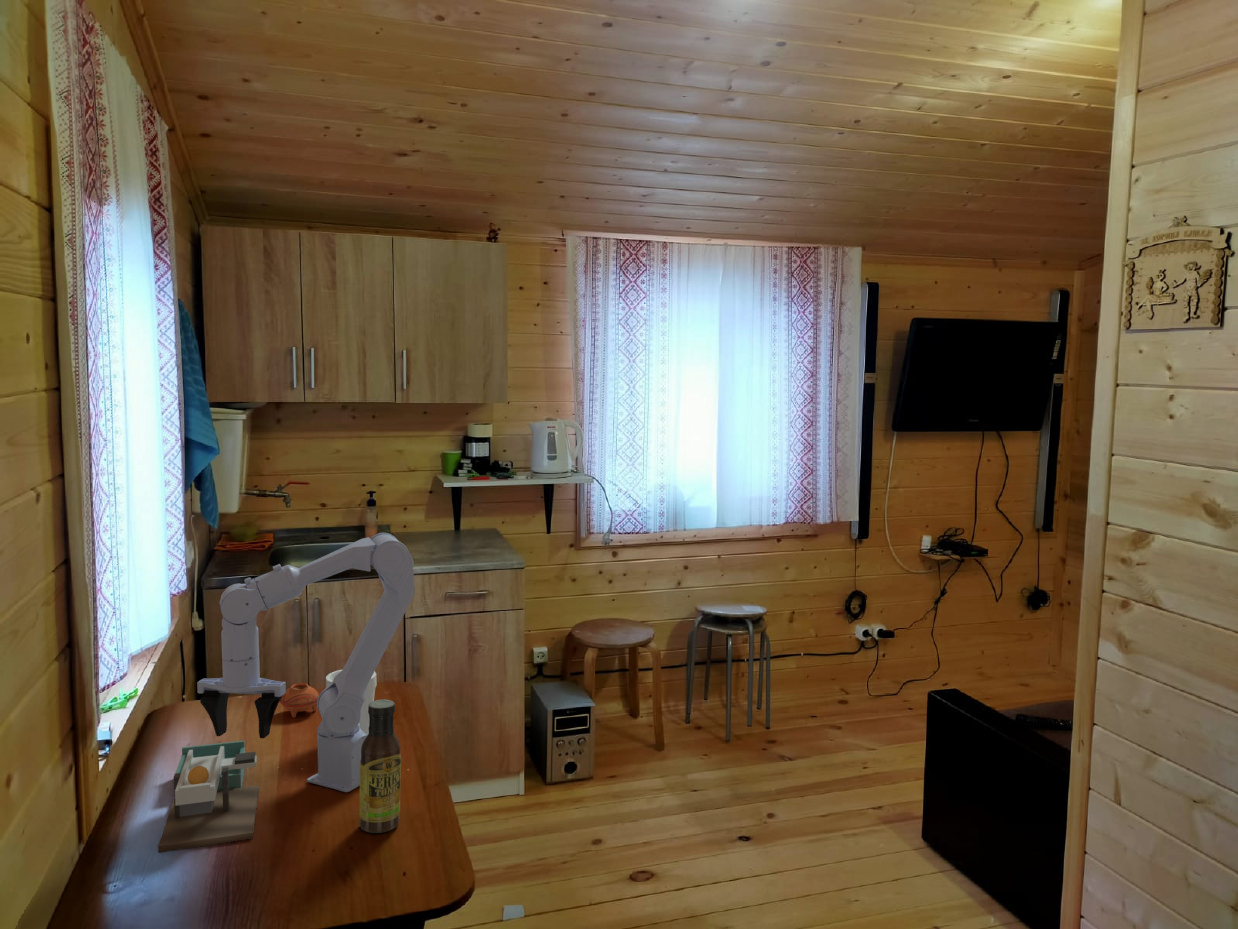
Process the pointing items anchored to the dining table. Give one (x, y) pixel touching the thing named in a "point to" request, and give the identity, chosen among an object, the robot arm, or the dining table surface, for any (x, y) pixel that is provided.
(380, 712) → the sauce bottle
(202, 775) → the ball
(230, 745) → the teal open box
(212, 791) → the tray
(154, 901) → the dining table surface
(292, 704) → the pot
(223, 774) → the stand
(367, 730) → the foam cup
